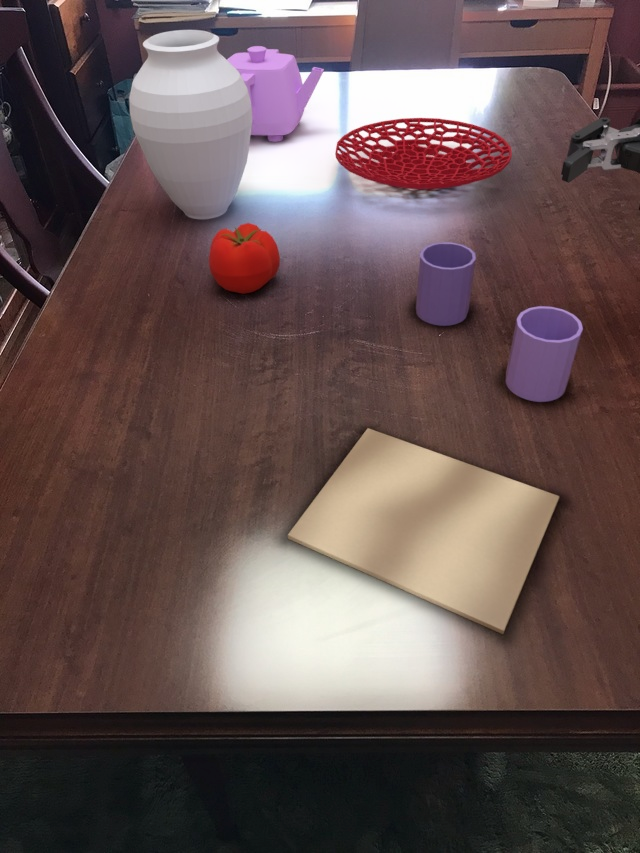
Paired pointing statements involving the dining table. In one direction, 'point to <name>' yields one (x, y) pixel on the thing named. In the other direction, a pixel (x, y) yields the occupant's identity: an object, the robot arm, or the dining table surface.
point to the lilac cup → (444, 283)
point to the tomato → (243, 258)
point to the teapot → (274, 90)
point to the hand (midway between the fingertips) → (604, 187)
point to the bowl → (423, 154)
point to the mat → (430, 526)
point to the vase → (192, 120)
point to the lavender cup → (542, 353)
